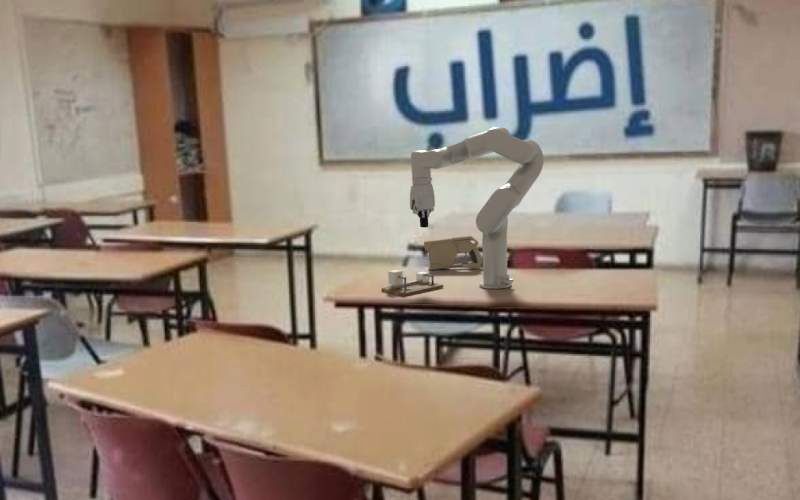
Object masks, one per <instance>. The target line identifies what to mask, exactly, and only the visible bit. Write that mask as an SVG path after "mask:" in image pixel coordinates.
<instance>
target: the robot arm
mask: <svg viewBox="0 0 800 500" xmlns="http://www.w3.org/2000/svg"><path fill="white" fill-rule="evenodd" d="M493 153H495V154H498V155H499V156H502V157H504V158H506V159H508V160H509V161H512V162H514V163H516V164H519V165H518V167H517V168H516V170H514V172H513V173H512V175H511V176H510V178H509V179H508V180H507V181H506V182H505V184H503V185H502V186H500V187H498V188H496V190H494V192H493V193H492V194H491V195H490V197H488V200H487V201H486V202H485V204H484V205H483V206H482V207H481V209H480V211H479V212H478V214H477V215H476V219H475V225H476V228H477V229H478V230H479V232H481V233H482V238H481V239H482V240H481V241H482V242H481V244H482V247H481V248H482V278H483V280H482V281H480V282H479V287H480V288H481V289H482V288H483V289H490V290H491V289H492V290H499V289H508V288H510V287H511V286H512V283H514V279H513V278H510V274H508V241H507V240H508V236H507V235H508V221H509V220H508V216H509V215H510V213H512V211H513V210H514V209H515V208H517V207H518V206H520V204H521V202H522V200H523V199H524V198H525V196H526V195H527V194H528V192H529V190H531V188H532V186H533V185H534V184H535V182H536V181H537V179H538V178H539V176H540V174H541V172H542V170H543V166H544V154H543V151H542V148H541V146H540V145H539V144H538V142H536V141H534V140H532V139H520V138H518V137H516V136H514V135H513V134H511V132H510V131H509V130H508V129H507V128H505V127H503V126H498V127H491V128H490V129H487V130H486V131H483V132H480V133H477V134H473V135H470V136H467V137H465V139H463V140H462V141H460V142H458V143H454V144H451V145H448V146H445V147H443V148H438V149H432V150H420V149H419V150H414V151H411V153H410V166H411V177H412V178H411V181H412V185H411V186H410V192H409V209H410V211H412V214H414V215H417V217H418V218H419V227H420V228H429V217H430V214H431V213H432V212H434V211H435V206H436V198H435V197H436V196H435V189H434V187H433V184H432V181H433V177H432V173H431V172H432V170H431V169H434V170H438V169H443V168H447V167H450V166H453V165H455V164H458V163H461V162H465V161H468V160H474V159H476V158H480V157H483V156H485V155H486V156H487V155H489V154H493Z"/></svg>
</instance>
